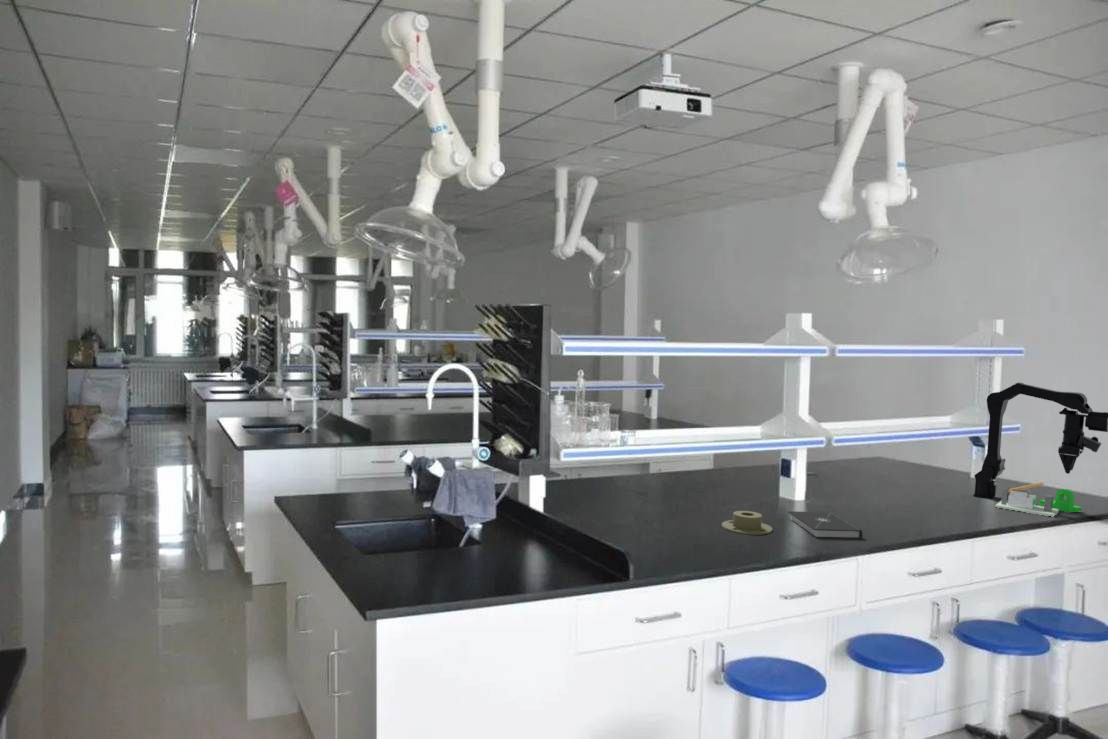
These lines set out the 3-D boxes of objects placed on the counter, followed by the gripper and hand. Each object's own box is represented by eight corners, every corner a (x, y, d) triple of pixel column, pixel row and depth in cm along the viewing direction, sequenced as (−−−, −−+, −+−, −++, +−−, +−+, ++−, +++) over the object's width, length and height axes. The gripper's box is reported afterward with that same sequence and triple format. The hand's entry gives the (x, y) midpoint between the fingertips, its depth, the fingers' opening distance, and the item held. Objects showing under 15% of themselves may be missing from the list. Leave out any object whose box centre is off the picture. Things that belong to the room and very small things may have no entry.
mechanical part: (1081, 513, 290) (1083, 490, 290) (1068, 513, 288) (1070, 491, 288) (1051, 504, 302) (1053, 483, 301) (1038, 505, 300) (1040, 483, 299)
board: (995, 507, 292) (995, 505, 291) (1001, 502, 301) (1001, 499, 301) (1053, 517, 280) (1054, 514, 280) (1058, 511, 290) (1059, 508, 290)
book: (862, 540, 243) (862, 530, 243) (813, 539, 242) (814, 529, 242) (831, 521, 265) (832, 512, 265) (787, 520, 264) (787, 511, 263)
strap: (1003, 493, 294) (1002, 490, 294) (1005, 492, 296) (1004, 489, 296) (1042, 486, 286) (1041, 482, 286) (1044, 484, 288) (1042, 481, 289)
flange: (742, 505, 260) (712, 512, 250) (783, 516, 249) (753, 523, 239) (741, 520, 260) (711, 527, 250) (782, 531, 249) (752, 539, 239)
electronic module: (1000, 504, 293) (1001, 489, 292) (1004, 501, 298) (1005, 486, 298) (1049, 512, 283) (1051, 496, 283) (1052, 509, 289) (1054, 493, 288)
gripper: (1098, 433, 278) (1093, 479, 279) (1103, 428, 293) (1098, 472, 294) (1060, 429, 285) (1055, 473, 286) (1066, 424, 299) (1062, 466, 301)
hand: (1069, 471), depth 291 cm, fingers open, 9 cm apart
